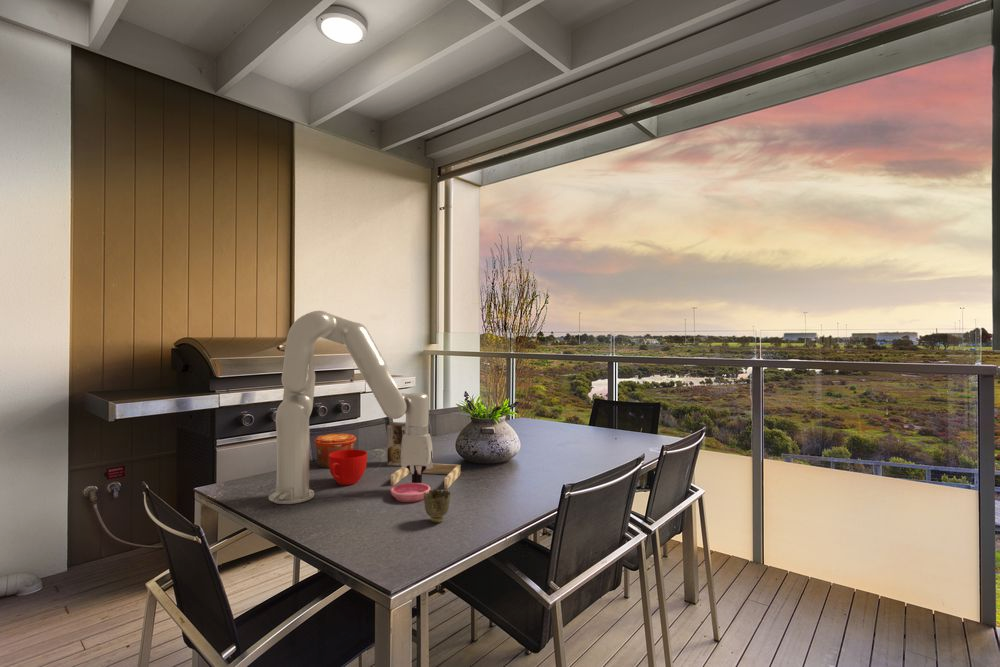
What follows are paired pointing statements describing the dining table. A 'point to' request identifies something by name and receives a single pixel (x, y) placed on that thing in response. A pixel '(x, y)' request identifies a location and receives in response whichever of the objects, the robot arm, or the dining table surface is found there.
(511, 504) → the dining table surface
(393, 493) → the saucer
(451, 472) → the oak cubby
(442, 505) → the cup
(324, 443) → the food container
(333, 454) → the ceramic cup
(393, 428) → the coffee box
